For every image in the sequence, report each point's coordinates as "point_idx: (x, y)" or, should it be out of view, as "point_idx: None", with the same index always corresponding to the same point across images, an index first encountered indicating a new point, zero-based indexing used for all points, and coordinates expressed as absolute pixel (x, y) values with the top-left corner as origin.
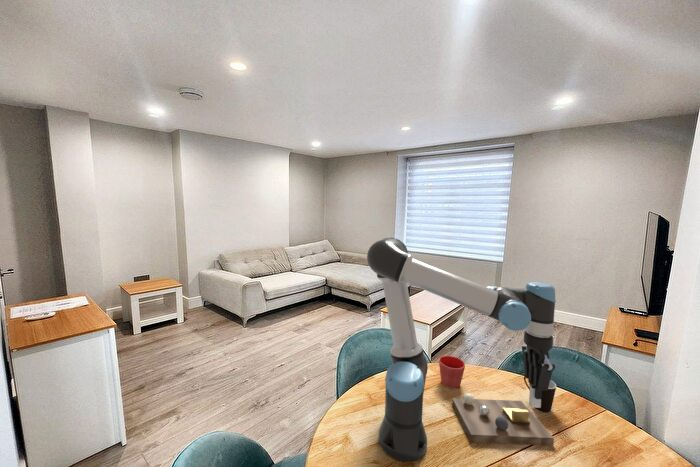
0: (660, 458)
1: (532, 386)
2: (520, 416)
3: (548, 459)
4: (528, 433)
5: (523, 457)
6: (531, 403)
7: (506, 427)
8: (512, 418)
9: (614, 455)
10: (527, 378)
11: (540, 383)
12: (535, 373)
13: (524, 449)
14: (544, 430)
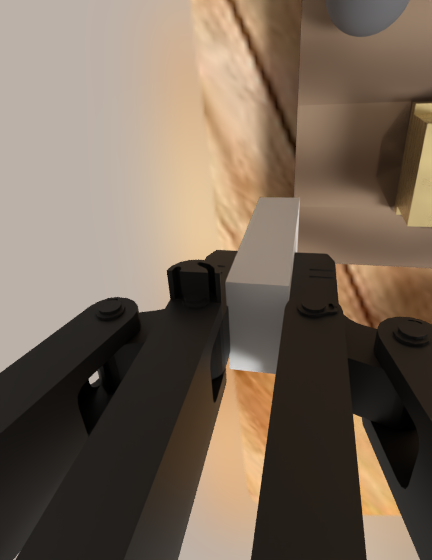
0: (254, 479)
1: (189, 275)
2: (411, 165)
3: (220, 178)
4: (320, 157)
5: (219, 64)
6: (264, 207)
7: (327, 9)
8: (426, 113)
9: (257, 397)
10: (387, 328)
11: (25, 365)
12: (107, 467)
13: (267, 98)
14: (339, 251)
